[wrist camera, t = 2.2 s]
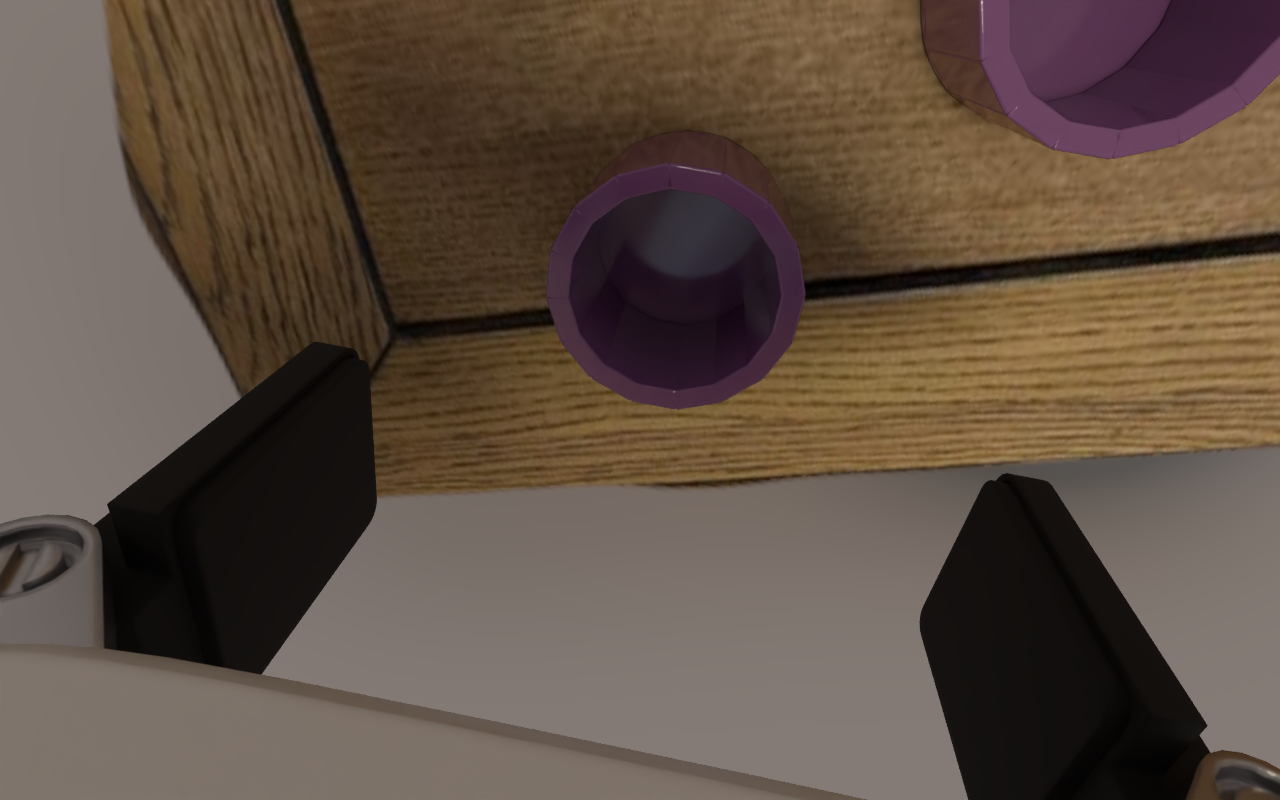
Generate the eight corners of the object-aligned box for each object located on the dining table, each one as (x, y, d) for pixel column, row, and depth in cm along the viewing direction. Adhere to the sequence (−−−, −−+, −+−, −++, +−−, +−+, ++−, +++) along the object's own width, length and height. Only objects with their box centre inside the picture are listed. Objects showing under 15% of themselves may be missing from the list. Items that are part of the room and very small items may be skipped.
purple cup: (573, 314, 23) (538, 385, 19) (595, 112, 20) (558, 142, 16) (762, 349, 23) (768, 427, 19) (813, 151, 20) (836, 191, 16)
